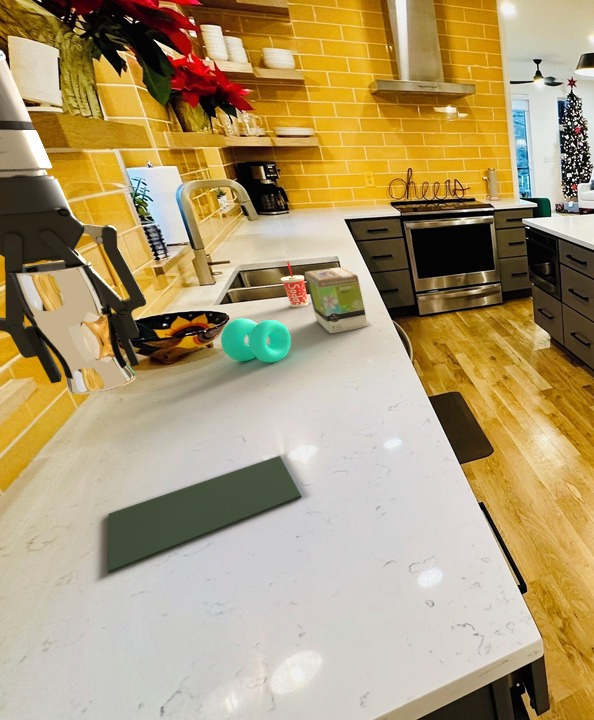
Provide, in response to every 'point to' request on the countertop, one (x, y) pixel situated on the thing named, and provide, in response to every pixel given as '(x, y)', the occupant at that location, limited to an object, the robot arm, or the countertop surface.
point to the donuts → (256, 340)
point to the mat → (196, 511)
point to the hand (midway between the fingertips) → (97, 370)
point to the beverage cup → (295, 289)
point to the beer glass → (74, 324)
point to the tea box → (336, 299)
